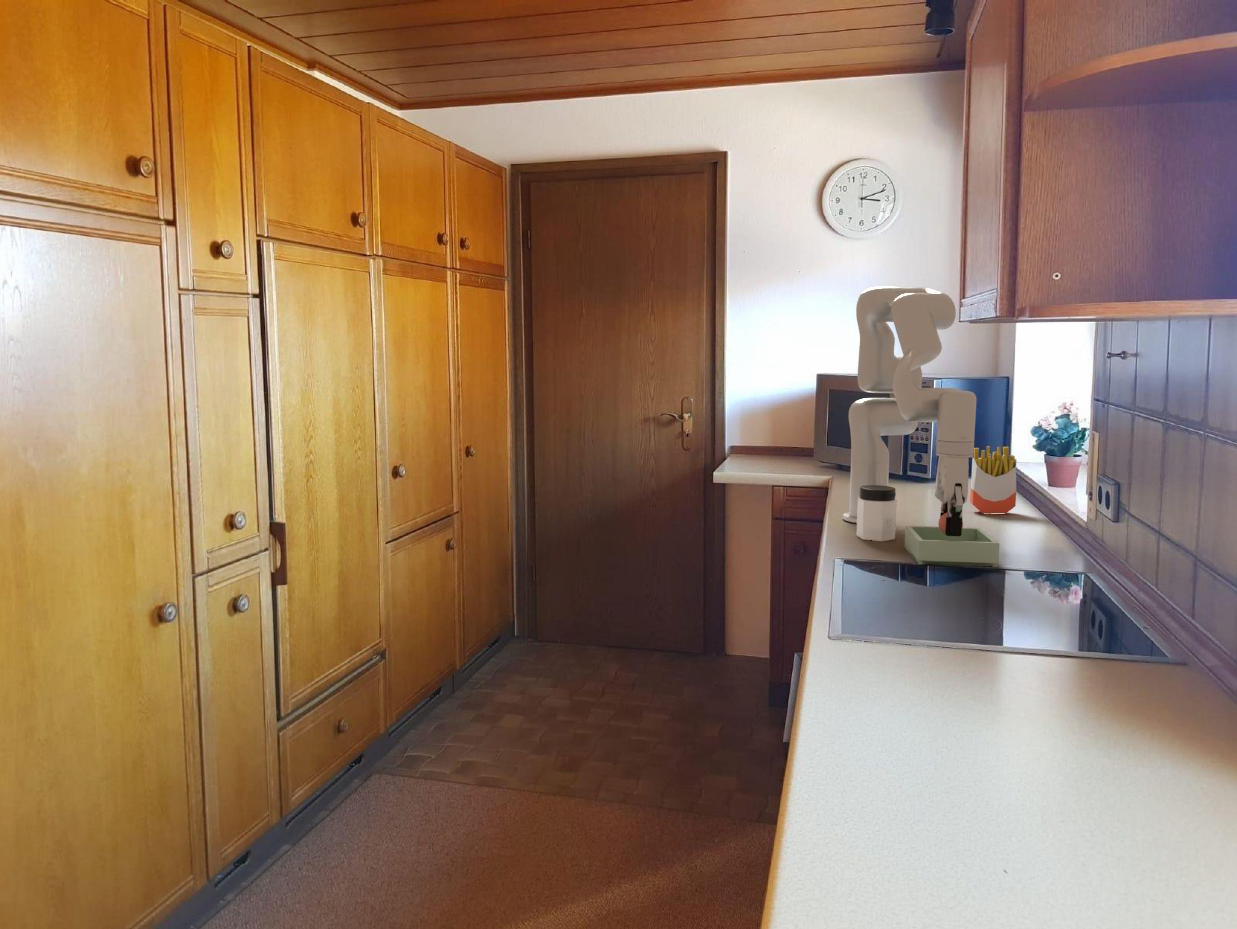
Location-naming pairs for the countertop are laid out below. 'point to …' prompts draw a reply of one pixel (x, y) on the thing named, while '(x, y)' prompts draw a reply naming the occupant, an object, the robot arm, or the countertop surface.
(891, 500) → the jar
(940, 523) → the tomato ball
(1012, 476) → the french fries container
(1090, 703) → the countertop surface
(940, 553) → the green bin
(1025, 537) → the countertop surface
